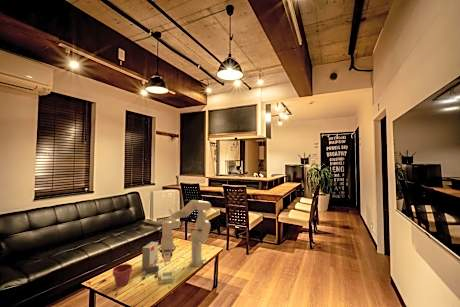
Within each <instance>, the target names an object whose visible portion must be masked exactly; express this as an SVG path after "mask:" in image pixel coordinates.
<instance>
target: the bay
mask: <svg viewBox="0 0 460 307" xmlns="http://www.w3.org/2000/svg"><path fill="white" fill-rule="evenodd" d="M159 267H160V266H159V265H155V266H150V267H145V270H144V272H143V273H144V274H143V276H142V279H143V280H145V279H146V276H147V274H152V273H155V278H158V276H159V271H160V270H159Z"/></svg>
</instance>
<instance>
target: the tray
mask: <svg viewBox="0 0 460 307" xmlns="http://www.w3.org/2000/svg"><path fill="white" fill-rule="evenodd" d="M173 282H174V271H163V272H161V275H160V284H168V283H173Z"/></svg>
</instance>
